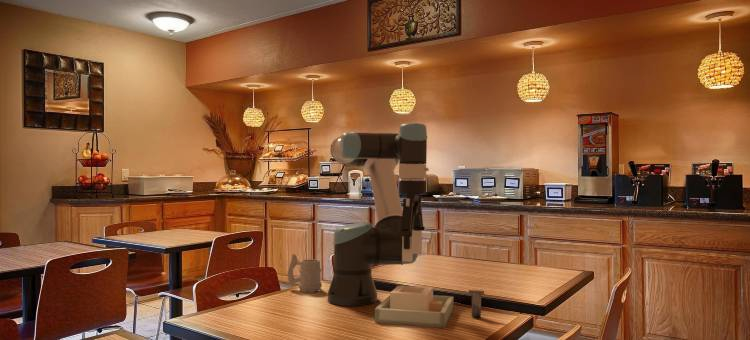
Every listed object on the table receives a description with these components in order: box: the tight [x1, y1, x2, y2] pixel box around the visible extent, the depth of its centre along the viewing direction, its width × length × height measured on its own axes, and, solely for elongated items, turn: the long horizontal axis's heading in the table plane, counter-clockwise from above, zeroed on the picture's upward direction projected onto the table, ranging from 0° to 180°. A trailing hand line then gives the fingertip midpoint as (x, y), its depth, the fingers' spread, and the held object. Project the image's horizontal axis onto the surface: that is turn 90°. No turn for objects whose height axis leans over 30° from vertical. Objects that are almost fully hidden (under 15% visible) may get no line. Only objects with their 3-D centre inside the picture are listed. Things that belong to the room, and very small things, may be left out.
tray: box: [374, 294, 455, 329], centre depth 143 cm, size 18×20×4 cm
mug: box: [287, 253, 323, 293], centre depth 175 cm, size 8×12×12 cm, turn 80°
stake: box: [468, 289, 485, 319], centre depth 140 cm, size 4×2×7 cm, turn 75°
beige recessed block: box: [389, 285, 442, 312], centre depth 143 cm, size 13×10×6 cm
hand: (412, 257), depth 144 cm, fingers open, 13 cm apart
